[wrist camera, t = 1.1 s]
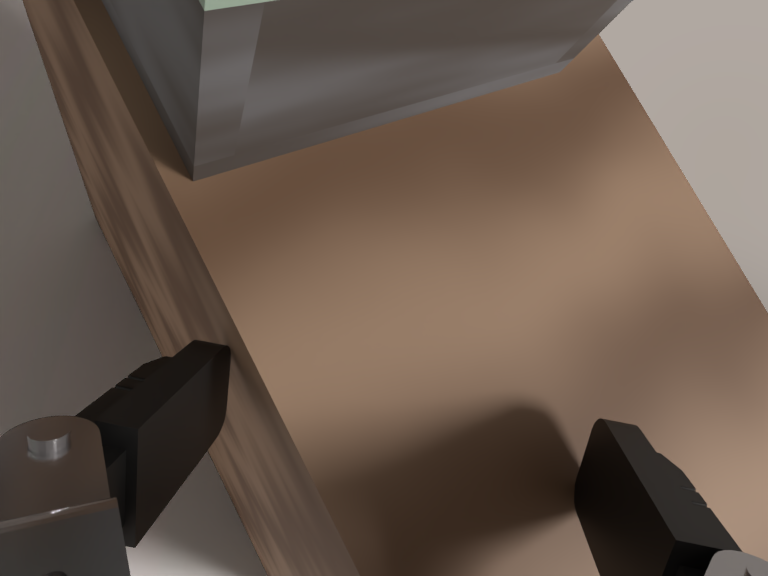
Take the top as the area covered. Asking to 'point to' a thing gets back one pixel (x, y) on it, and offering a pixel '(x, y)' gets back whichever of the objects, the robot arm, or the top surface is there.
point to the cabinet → (415, 268)
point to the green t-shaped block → (227, 3)
